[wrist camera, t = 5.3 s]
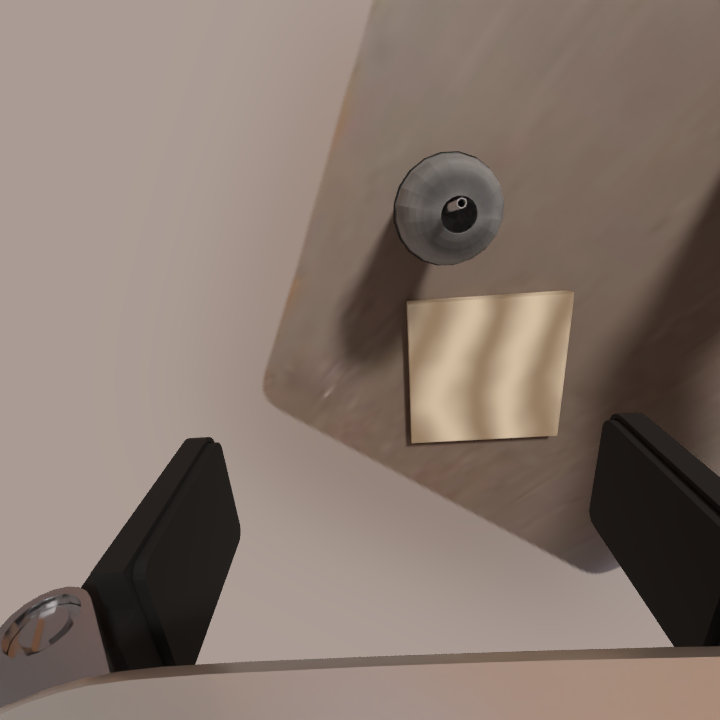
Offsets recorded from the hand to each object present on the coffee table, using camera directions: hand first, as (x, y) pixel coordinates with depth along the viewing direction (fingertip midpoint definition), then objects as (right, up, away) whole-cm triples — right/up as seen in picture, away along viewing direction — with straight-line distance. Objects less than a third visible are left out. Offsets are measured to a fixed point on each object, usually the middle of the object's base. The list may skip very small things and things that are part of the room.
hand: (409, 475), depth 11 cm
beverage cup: (+5, +17, +29) cm, 34 cm away
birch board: (+12, +2, +35) cm, 37 cm away
